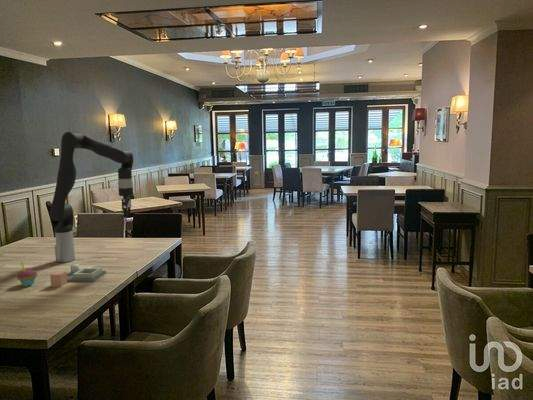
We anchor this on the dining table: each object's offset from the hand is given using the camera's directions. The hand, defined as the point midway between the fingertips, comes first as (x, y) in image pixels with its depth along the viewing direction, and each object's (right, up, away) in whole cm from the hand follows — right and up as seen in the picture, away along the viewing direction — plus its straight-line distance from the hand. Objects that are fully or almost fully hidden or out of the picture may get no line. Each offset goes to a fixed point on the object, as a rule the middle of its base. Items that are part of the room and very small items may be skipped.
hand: (127, 216), depth 220 cm
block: (-22, -32, -30) cm, 49 cm away
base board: (-16, -30, -19) cm, 39 cm away
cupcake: (-38, -32, -28) cm, 57 cm away
